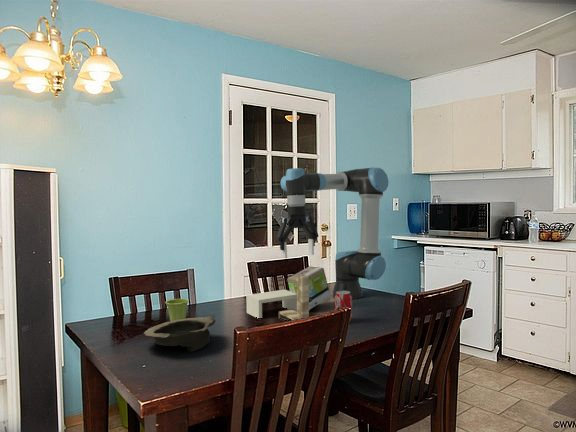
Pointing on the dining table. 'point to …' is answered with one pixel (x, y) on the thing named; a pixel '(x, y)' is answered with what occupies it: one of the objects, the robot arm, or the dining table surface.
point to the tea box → (312, 285)
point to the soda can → (343, 300)
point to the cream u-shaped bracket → (256, 301)
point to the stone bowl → (183, 332)
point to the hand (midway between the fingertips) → (298, 256)
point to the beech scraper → (299, 300)
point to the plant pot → (177, 309)
